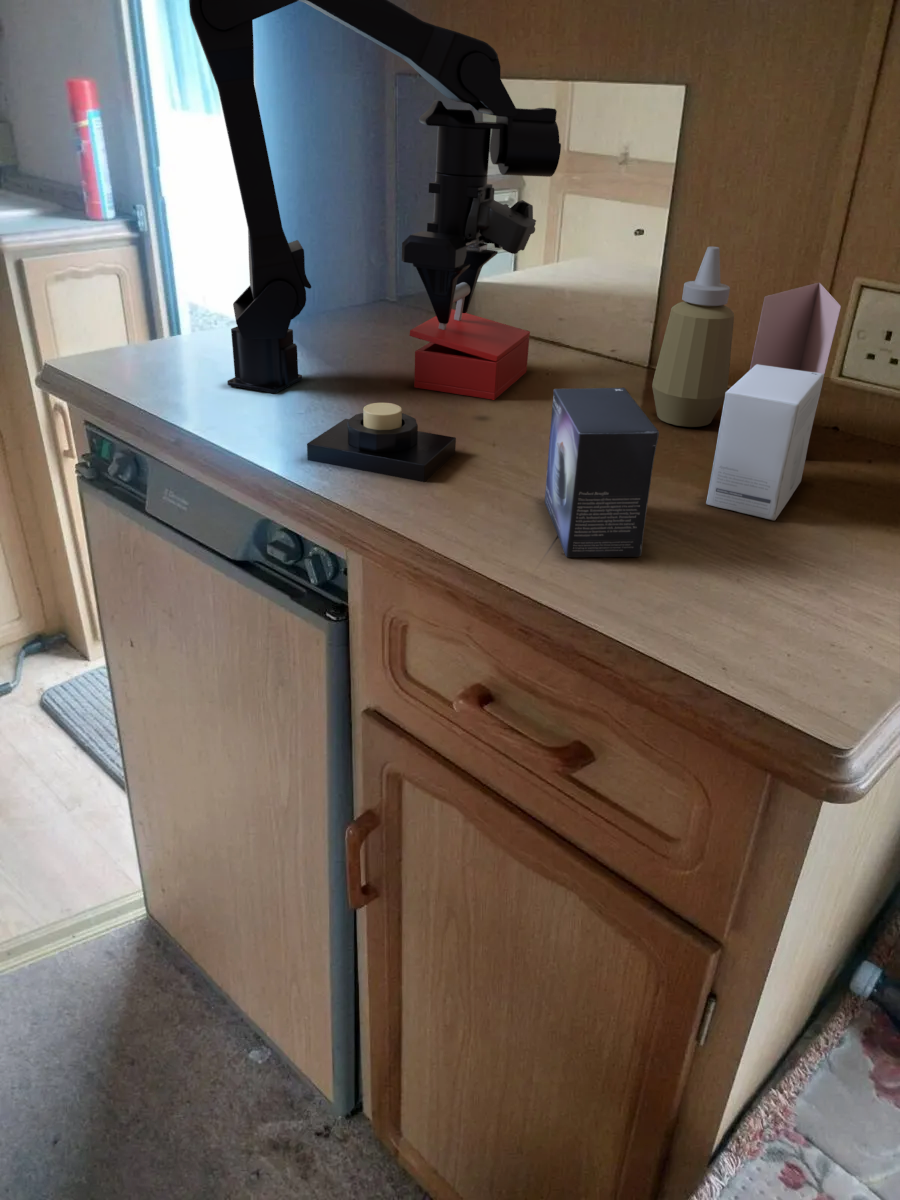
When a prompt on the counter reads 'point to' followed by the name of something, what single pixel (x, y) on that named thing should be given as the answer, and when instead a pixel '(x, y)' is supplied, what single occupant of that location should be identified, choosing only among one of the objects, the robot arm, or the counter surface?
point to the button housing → (383, 449)
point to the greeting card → (797, 329)
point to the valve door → (471, 332)
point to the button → (382, 416)
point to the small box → (599, 471)
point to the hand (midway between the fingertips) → (453, 317)
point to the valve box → (468, 371)
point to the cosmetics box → (763, 440)
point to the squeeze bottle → (696, 350)
